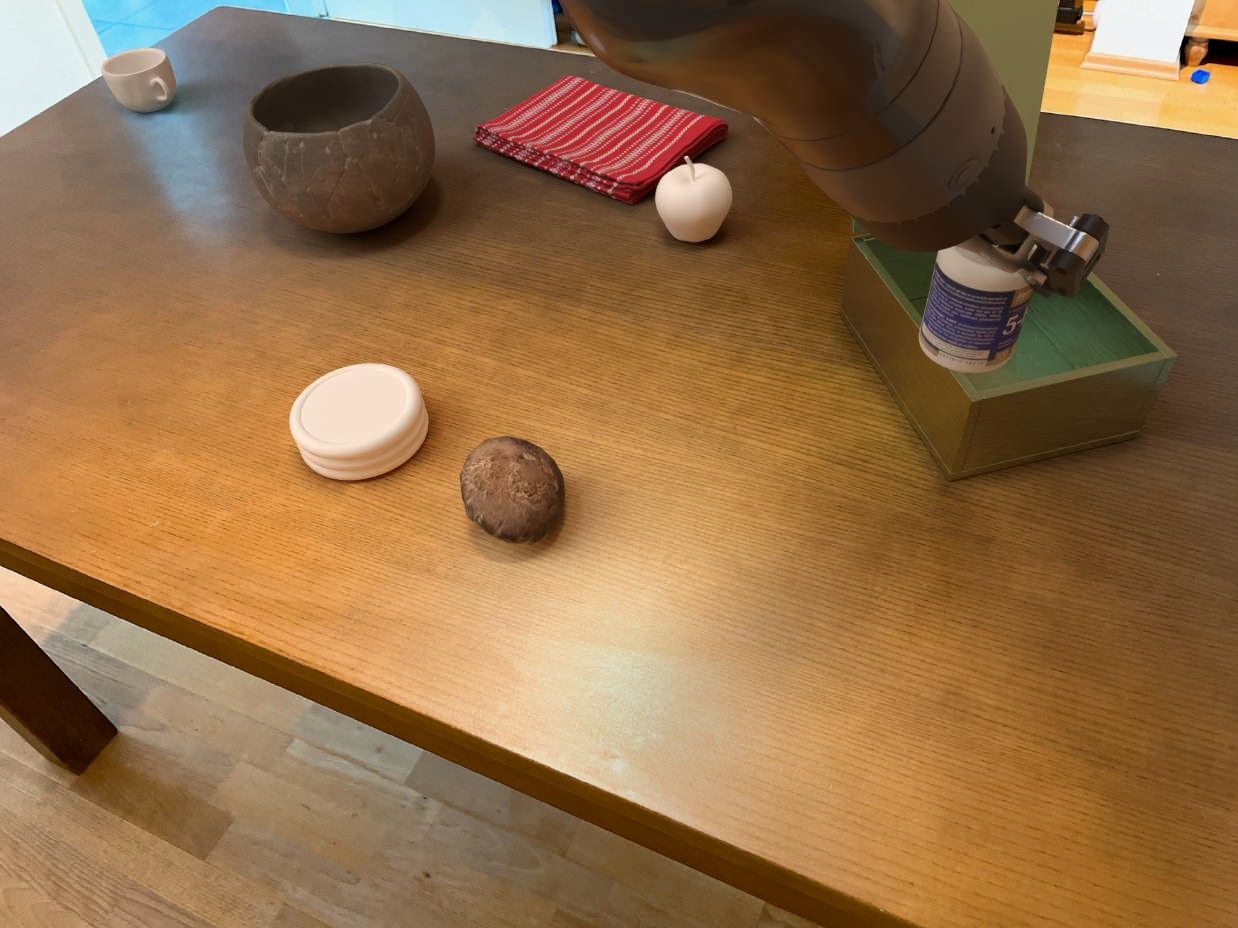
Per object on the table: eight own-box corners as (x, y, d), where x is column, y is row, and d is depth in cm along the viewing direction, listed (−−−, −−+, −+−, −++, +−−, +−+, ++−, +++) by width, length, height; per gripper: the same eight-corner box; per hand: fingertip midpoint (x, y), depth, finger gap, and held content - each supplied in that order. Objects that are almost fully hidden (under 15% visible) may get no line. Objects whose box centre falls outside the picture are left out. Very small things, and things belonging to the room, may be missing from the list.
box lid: (1075, -97, 61) (1038, -103, 64) (868, -64, 59) (841, -72, 63) (1025, 200, 73) (996, 182, 77) (852, 234, 72) (831, 214, 75)
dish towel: (636, 210, 91) (635, 186, 89) (470, 146, 102) (465, 124, 100) (735, 137, 99) (735, 114, 97) (571, 86, 110) (568, 64, 109)
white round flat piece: (416, 379, 76) (406, 346, 73) (442, 459, 69) (432, 426, 67) (294, 413, 74) (280, 381, 72) (310, 500, 68) (295, 467, 65)
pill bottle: (1008, 384, 51) (1054, 246, 44) (911, 366, 52) (942, 231, 46) (1016, 325, 54) (1060, 190, 48) (924, 310, 55) (955, 176, 49)
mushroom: (415, 493, 63) (455, 441, 59) (491, 456, 69) (533, 407, 65) (486, 585, 62) (532, 539, 58) (557, 539, 68) (603, 494, 64)
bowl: (291, 285, 86) (242, 161, 77) (261, 195, 98) (214, 78, 89) (471, 231, 90) (445, 108, 81) (422, 151, 102) (393, 35, 93)
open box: (1137, 438, 66) (1178, 355, 61) (948, 481, 65) (972, 401, 59) (999, 282, 79) (1022, 203, 74) (839, 315, 78) (850, 236, 72)
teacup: (109, 108, 115) (88, 66, 111) (163, 84, 118) (145, 42, 115) (150, 130, 110) (130, 86, 106) (206, 104, 114) (188, 61, 110)
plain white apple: (645, 224, 89) (641, 147, 83) (711, 205, 91) (712, 128, 85) (674, 261, 85) (672, 183, 79) (743, 241, 86) (747, 163, 80)
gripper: (1135, 95, 32) (1178, 247, 45) (814, -8, 40) (934, 148, 53) (1007, 288, 33) (1086, 378, 47) (724, 152, 41) (862, 264, 55)
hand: (1005, 256), depth 50 cm, fingers closed on pill bottle, 5 cm apart
